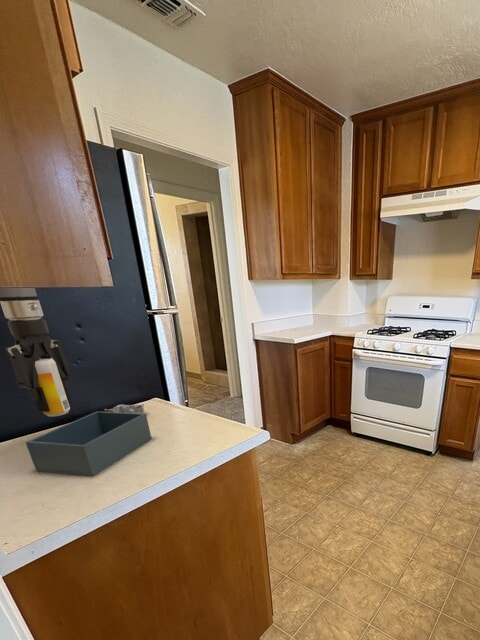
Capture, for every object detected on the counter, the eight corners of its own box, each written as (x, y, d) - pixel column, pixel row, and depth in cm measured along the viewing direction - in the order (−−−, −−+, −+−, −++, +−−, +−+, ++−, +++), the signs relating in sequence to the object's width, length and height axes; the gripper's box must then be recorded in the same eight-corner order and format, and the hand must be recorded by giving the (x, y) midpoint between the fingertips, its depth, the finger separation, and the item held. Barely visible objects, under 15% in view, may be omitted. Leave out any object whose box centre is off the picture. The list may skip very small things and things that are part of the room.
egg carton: (104, 421, 115) (101, 409, 113) (118, 413, 122) (115, 402, 120) (136, 421, 114) (133, 409, 113) (148, 413, 121) (145, 401, 119)
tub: (36, 471, 84) (25, 442, 81) (104, 435, 103) (97, 411, 100) (93, 476, 81) (83, 446, 78) (151, 438, 101) (146, 413, 98)
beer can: (51, 410, 100) (33, 357, 94) (75, 409, 101) (58, 356, 95) (39, 418, 94) (19, 361, 88) (64, 416, 95) (46, 360, 89)
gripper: (-1, 322, 78) (34, 419, 87) (70, 315, 96) (94, 397, 105) (-28, 322, 80) (9, 418, 89) (47, 315, 97) (72, 396, 106)
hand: (55, 406), depth 97 cm, fingers closed on beer can, 6 cm apart
